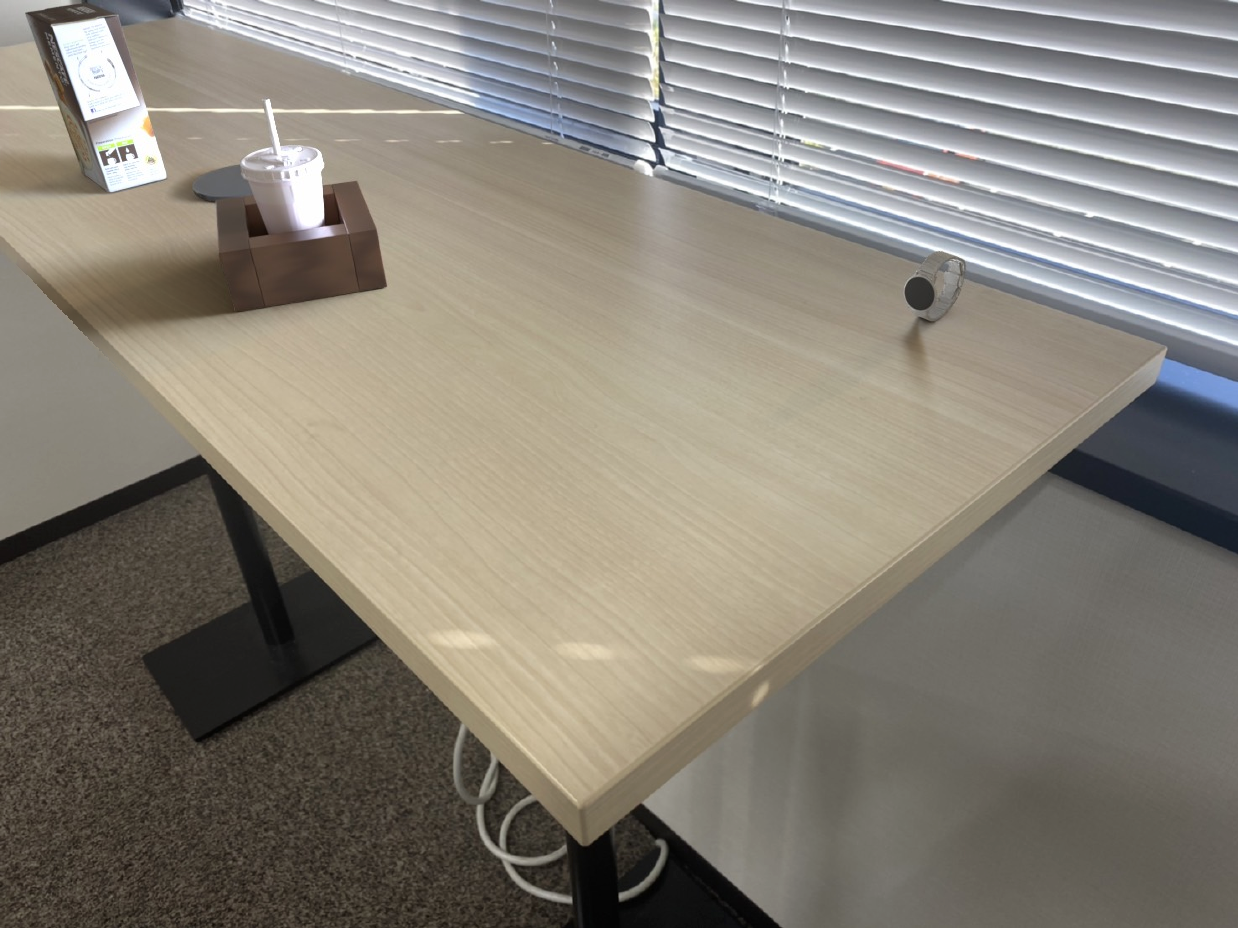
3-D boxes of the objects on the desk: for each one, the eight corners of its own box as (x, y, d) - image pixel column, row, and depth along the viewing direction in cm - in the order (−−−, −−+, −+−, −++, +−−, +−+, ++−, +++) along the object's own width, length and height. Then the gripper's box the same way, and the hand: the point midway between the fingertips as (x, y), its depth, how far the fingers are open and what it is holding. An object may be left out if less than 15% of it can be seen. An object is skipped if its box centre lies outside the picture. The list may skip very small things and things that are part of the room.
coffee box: (170, 178, 102) (121, 13, 92) (108, 194, 98) (50, 24, 89) (138, 158, 107) (88, 0, 98) (78, 172, 104) (20, 10, 95)
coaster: (194, 208, 95) (192, 202, 94) (193, 175, 102) (192, 170, 102) (299, 194, 97) (297, 188, 97) (291, 163, 105) (289, 157, 105)
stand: (235, 312, 76) (218, 253, 74) (230, 254, 86) (215, 199, 83) (387, 287, 80) (377, 229, 77) (367, 233, 89) (357, 180, 86)
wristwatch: (897, 320, 73) (907, 258, 70) (935, 299, 76) (946, 239, 73) (930, 333, 71) (942, 271, 68) (967, 312, 74) (981, 250, 71)
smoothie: (328, 248, 86) (294, 85, 78) (355, 273, 82) (322, 103, 74) (257, 267, 83) (213, 99, 75) (281, 293, 79) (238, 119, 71)
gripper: (16, -299, 55) (118, 25, 65) (326, -305, 60) (376, -1, 70) (33, -291, 61) (124, 5, 71) (314, -298, 65) (362, -18, 75)
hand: (248, 1), depth 70 cm, fingers open, 9 cm apart
